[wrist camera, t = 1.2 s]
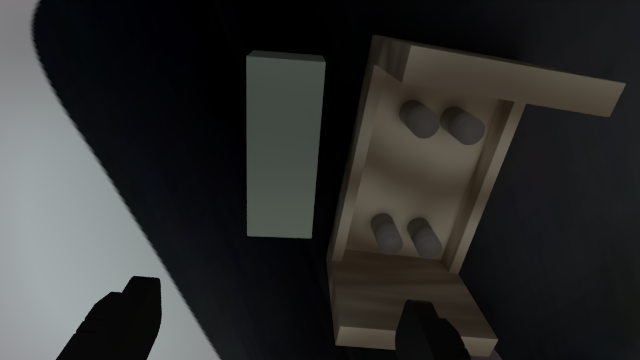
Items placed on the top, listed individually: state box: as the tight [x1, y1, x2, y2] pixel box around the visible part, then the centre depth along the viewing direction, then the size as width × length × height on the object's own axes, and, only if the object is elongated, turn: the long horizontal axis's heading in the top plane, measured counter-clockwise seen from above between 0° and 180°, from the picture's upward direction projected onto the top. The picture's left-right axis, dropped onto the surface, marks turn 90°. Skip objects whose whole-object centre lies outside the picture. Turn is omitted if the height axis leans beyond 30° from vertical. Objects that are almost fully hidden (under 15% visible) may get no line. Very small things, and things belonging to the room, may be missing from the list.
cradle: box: [326, 35, 626, 357], centre depth 24 cm, size 18×10×9 cm, turn 170°
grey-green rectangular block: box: [246, 50, 326, 238], centre depth 25 cm, size 12×4×4 cm, turn 175°
